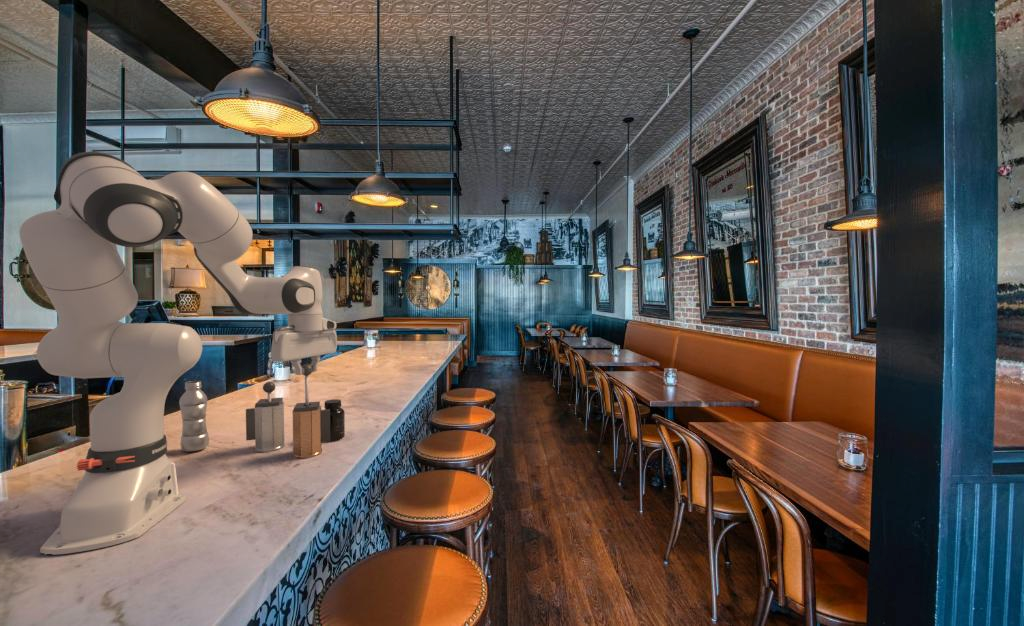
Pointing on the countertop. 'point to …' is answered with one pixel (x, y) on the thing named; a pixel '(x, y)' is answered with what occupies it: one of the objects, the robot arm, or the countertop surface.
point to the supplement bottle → (336, 419)
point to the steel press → (266, 424)
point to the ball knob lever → (308, 371)
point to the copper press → (310, 429)
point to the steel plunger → (269, 389)
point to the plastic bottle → (193, 418)
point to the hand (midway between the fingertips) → (306, 373)
